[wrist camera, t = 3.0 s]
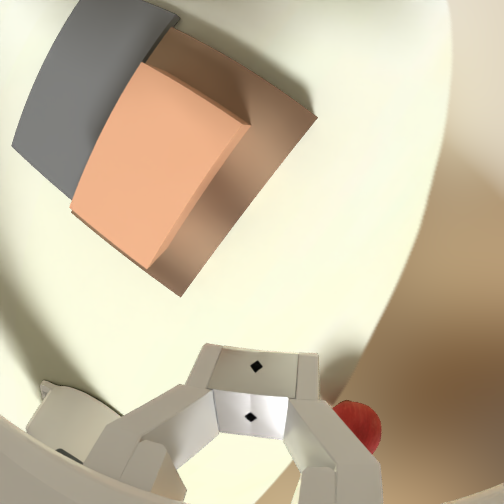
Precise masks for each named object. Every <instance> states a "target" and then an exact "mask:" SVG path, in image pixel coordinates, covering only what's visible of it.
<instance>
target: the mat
mask: <svg viewBox="0 0 504 504" xmlns="http://www.w3.org/2000/svg"><path fill="white" fill-rule="evenodd" d="M179 19H180V17H179V16H177V15H176V14H174V13H172V12H170V11H167V10H165V9H163V8H160V7H158V6H155V5H153V4H150V3H148V2H145V1H143V0H79V2H78V3H77V5H76V6H75V8H74V9H73V11H72V13H71V14H70V16H69V17H68V19H67V21H66V22H65V24H64V26H63V27H62V29H61V31H60V32H59V34H58V36H57V38H56V39H55V41H54V43H53V45H52V47H51V49H50V51H49V53H48V55H47V57H46V59H45V61H44V63H43V65H42V67H41V69H40V71H39V73H38V75H37V78H36V80H35V82H34V84H33V87H32V89H31V91H30V94H29V96H28V99H27V101H26V104H25V107H24V109H23V112H22V115H21V118H20V120H19V123H18V126H17V129H16V132H15V136H14V139H13V142H12V147H13V148H14V149H15V150H16V151H17V152H18V153H19V154H20V155H21V156H22V157H23V158H24V159H26V160H27V161H28V162H29V163H30V164H31V165H32V166H33V167H34V168H35V169H37V170H38V171H39V172H40V173H41V174H42V175H43V176H44V177H45V178H47V179H48V180H49V181H50V182H51V183H52V184H53V185H55V186H56V187H57V188H58V189H59V190H60V191H61V192H63V193H64V194H65V195H66V196H67V197H68V198H70V199H71V200H72V199H73V196H74V194H75V191H76V188H77V186H78V183H79V181H80V178H81V176H82V174H83V171H84V169H85V166H86V164H87V162H88V160H89V157H90V155H91V153H92V151H93V149H94V146H95V144H96V142H97V140H98V138H99V136H100V134H101V132H102V130H103V128H104V126H105V124H106V122H107V120H108V118H109V116H110V114H111V112H112V111H113V109H114V107H115V105H116V103H117V101H118V100H119V98H120V96H121V94H122V93H123V91H124V89H125V88H126V86H127V84H128V83H129V81H130V79H131V78H132V76H133V74H134V73H135V71H136V70H137V68H138V67H139V65H140V63H141V62H143V63H146V61H147V60H148V58H149V57H150V55H151V54H152V53H153V51H154V50H155V48H156V47H157V45H158V44H159V43H160V41H161V40H162V38H163V37H164V36H165V34H166V33H167V32H168V30H169V29H170V28H171V27H174V26H175V24H176V23H177V22H178V20H179Z"/></svg>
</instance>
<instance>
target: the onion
mask: <svg viewBox="0 0 504 504" xmlns="http://www.w3.org/2000/svg"><path fill="white" fill-rule="evenodd" d="M332 409H333V410H334V411H335V413H336V414H337V415H338V416H339V417H340V418H341V420H342V421H343V422H344V423H345V424H346V425H347V427H348V428H349V429H350V430H351V431H352V432H353V433H354V435H355V436H356V437H357V438H358V439H359V440H360V442H361V443H362V444H363V445H364V446H365V447H366V448H367V449H368V451H369V452H370V453H371V454H373V453H374V451H375V450H376V448H377V446H378V445H379V442H380V439H381V422H380V419H379V417H378V415H377V414H376V413H375V412H374V411H373V410H372V409H371V408H370V407H369V406H367V405H364V404H362V403H358V402H352V401H349V400H345V401H342V402H340V403H339V404H338V405H336V406H335V407H333V408H332Z"/></svg>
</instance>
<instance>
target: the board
mask: <svg viewBox="0 0 504 504" xmlns="http://www.w3.org/2000/svg"><path fill="white" fill-rule="evenodd" d="M146 64H149V65H151V66H154V67H156V68H159V69H162V70H164V71H166V72H168V73H170V74H172V75H173V76H175V77H177V78H178V79H180V80H182V81H183V82H185V83H187V84H188V85H190V86H192V87H193V88H195V89H197V90H198V91H200V92H201V93H203V94H205V95H206V96H208V97H209V98H211V99H213V100H214V101H216V102H217V103H219V104H220V105H222V106H223V107H225V108H226V109H228V110H229V111H231V112H232V113H234V114H235V115H237V116H238V117H240V118H241V119H243V120H244V121H246V122H247V123H248V124H250V125H251V127H250V128H249V129H248V131H247V132H246V133H245V135H244V136H243V137H242V139H241V140H240V141H239V143H238V144H237V146H236V147H235V148H234V150H233V151H232V152H231V154H230V155H229V157H228V158H227V159H226V161H225V162H224V164H223V165H222V166H221V168H220V169H219V171H218V172H217V174H216V175H215V176H214V178H213V179H212V181H211V182H210V184H209V185H208V187H207V188H206V190H205V191H204V192H203V194H202V195H201V197H200V198H199V200H198V201H197V203H196V204H195V206H194V207H193V209H192V210H191V212H190V213H189V215H188V216H187V218H186V220H185V221H184V223H183V224H182V226H181V227H180V229H179V230H178V232H177V234H176V235H175V237H174V238H173V240H172V241H171V243H170V245H169V246H168V248H167V249H166V250H165V251H164V252H163V253H162V254H161V255H160V256H159V257H158V258H157V259H156V261H155V262H154V263H153V264H152V265H151V266H150V267H149V268H148V269H146V268H144V267H143V266H142V265H140V264H139V263H138V262H136V261H135V260H134V259H132V258H131V257H130V256H128V255H127V254H126V253H125V252H123V251H122V250H121V249H119V248H118V247H117V246H116V245H114V244H113V243H112V242H111V241H109V240H108V239H107V238H106V237H104V236H103V235H102V234H101V233H99V232H98V231H97V230H96V229H94V228H93V227H92V226H91V225H89V224H88V223H87V222H86V221H85V220H83V219H82V218H81V217H80V216H79V215H77V214H76V213H75V212H74V211H73V210H72V211H71V213H72V214H74V215H75V216H76V217H77V218H78V219H79V220H81V221H82V222H83V223H84V224H85V225H87V226H88V227H89V228H90V229H91V230H93V231H94V232H95V233H96V234H98V235H99V236H100V237H101V238H103V239H104V240H105V241H106V242H108V243H109V244H110V245H111V246H113V247H114V248H115V249H116V250H118V251H119V252H120V253H121V254H123V255H124V256H125V257H127V258H128V259H129V260H131V261H132V262H133V263H134V264H136V265H137V266H138V267H140V268H141V269H142V270H144V271H145V272H146V273H148V274H149V275H150V276H152V277H153V278H155V279H156V280H157V281H159V282H160V283H161V284H163V285H164V286H166V287H167V288H168V289H170V290H171V291H173V292H174V293H175V294H177V295H178V296H180V297H181V296H182V295H183V294H184V292H185V291H186V289H187V288H188V287H189V285H190V284H191V283H192V281H193V280H194V278H195V277H196V276H197V274H198V273H199V272H200V270H201V269H202V267H203V266H204V265H205V263H206V262H207V261H208V259H209V258H210V257H211V255H212V254H213V253H214V251H215V250H216V249H217V247H218V246H219V244H220V243H221V242H222V240H223V239H224V238H225V236H226V235H227V234H228V232H229V231H230V230H231V228H232V227H233V226H234V224H235V223H236V222H237V220H238V219H239V218H240V216H241V215H242V214H243V213H244V211H245V210H246V209H247V207H248V206H249V205H250V203H251V202H252V201H253V199H254V198H255V197H256V195H257V194H258V193H259V192H260V190H261V189H262V188H263V186H264V185H265V184H266V183H267V181H268V180H269V179H270V177H271V176H272V175H273V174H274V172H275V171H276V170H277V168H278V167H279V166H280V165H281V163H282V162H283V161H284V159H285V158H286V157H287V156H288V154H289V153H290V152H291V151H292V149H293V148H294V147H295V146H296V144H297V143H298V142H299V141H300V139H301V138H302V137H303V136H304V134H305V133H306V132H307V131H308V129H309V128H310V127H311V126H312V124H313V123H314V122H315V121H316V119H317V118H318V117H317V116H315V115H314V114H313V113H311V112H310V111H309V110H308V109H306V108H305V107H303V106H302V105H301V104H299V103H298V102H297V101H295V100H294V99H293V98H291V97H290V96H288V95H287V94H285V93H284V92H283V91H281V90H280V89H278V88H277V87H275V86H274V85H272V84H271V83H269V82H268V81H266V80H265V79H263V78H262V77H260V76H259V75H257V74H256V73H254V72H252V71H251V70H249V69H248V68H246V67H244V66H243V65H241V64H240V63H238V62H236V61H235V60H233V59H231V58H230V57H228V56H226V55H224V54H223V53H221V52H219V51H217V50H216V49H214V48H212V47H210V46H208V45H206V44H205V43H203V42H201V41H199V40H197V39H195V38H193V37H191V36H189V35H187V34H185V33H183V32H181V31H179V30H177V29H175V28H173V27H171V28H170V29H169V30H168V32H167V33H166V34H165V36H164V37H163V38H162V40H161V41H160V43H159V44H158V45H157V47H156V48H155V50H154V51H153V53H152V54H151V55H150V57H149V58H148V60H147V61H146Z"/></svg>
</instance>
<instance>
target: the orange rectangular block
mask: <svg viewBox="0 0 504 504" xmlns="http://www.w3.org/2000/svg"><path fill="white" fill-rule="evenodd" d="M250 127H251V125H250V124H248V123H247V122H246V121H244V120H243V119H241V118H240V117H238V116H237V115H235V114H234V113H232V112H231V111H229V110H228V109H226V108H225V107H223V106H222V105H220V104H219V103H217V102H216V101H214V100H213V99H211V98H209V97H208V96H206V95H205V94H203V93H201V92H200V91H198V90H197V89H195V88H193V87H192V86H190V85H188V84H187V83H185V82H183V81H182V80H180V79H178V78H177V77H175V76H173V75H172V74H170V73H168V72H166V71H164V70H162V69H159V68H156V67H154V66H151V65H149V64H146V63H143V62H141V63H140V65H139V67H138V68H137V70H136V71H135V73H134V74H133V76H132V78H131V79H130V81H129V83H128V84H127V86H126V88H125V89H124V91H123V93H122V94H121V96H120V98H119V100H118V101H117V103H116V105H115V107H114V109H113V111H112V112H111V114H110V116H109V118H108V120H107V122H106V124H105V126H104V128H103V130H102V132H101V134H100V136H99V138H98V140H97V142H96V144H95V146H94V149H93V151H92V153H91V155H90V157H89V160H88V162H87V164H86V166H85V169H84V171H83V174H82V176H81V178H80V181H79V183H78V186H77V188H76V191H75V194H74V196H73V199H72V202H71V204H70V207H69V208H70V209H72V210H73V211H74V212H75V213H76V214H77V215H79V216H80V217H81V218H82V219H83V220H85V221H86V222H87V223H88V224H89V225H91V226H92V227H93V228H94V229H96V230H97V231H98V232H99V233H101V234H102V235H103V236H104V237H106V238H107V239H108V240H109V241H111V242H112V243H113V244H114V245H116V246H117V247H118V248H119V249H121V250H122V251H123V252H125V253H126V254H127V255H128V256H130V257H131V258H132V259H134V260H135V261H136V262H138V263H139V264H140V265H142V266H143V267H144V268H146V269H148V268H149V267H150V266H151V265H152V264H153V263H154V262H155V261H156V259H157V258H158V257H159V256H160V255H161V254H162V253H163V252H164V251H165V250H166V249H167V248H168V246H169V245H170V243H171V241H172V240H173V238H174V237H175V235H176V234H177V232H178V230H179V229H180V227H181V226H182V224H183V223H184V221H185V220H186V218H187V216H188V215H189V213H190V212H191V210H192V209H193V207H194V206H195V204H196V203H197V201H198V200H199V198H200V197H201V195H202V194H203V192H204V191H205V190H206V188H207V187H208V185H209V184H210V182H211V181H212V179H213V178H214V176H215V175H216V174H217V172H218V171H219V169H220V168H221V166H222V165H223V164H224V162H225V161H226V159H227V158H228V157H229V155H230V154H231V152H232V151H233V150H234V148H235V147H236V146H237V144H238V143H239V141H240V140H241V139H242V137H243V136H244V135H245V133H246V132H247V131H248V129H249V128H250Z"/></svg>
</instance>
